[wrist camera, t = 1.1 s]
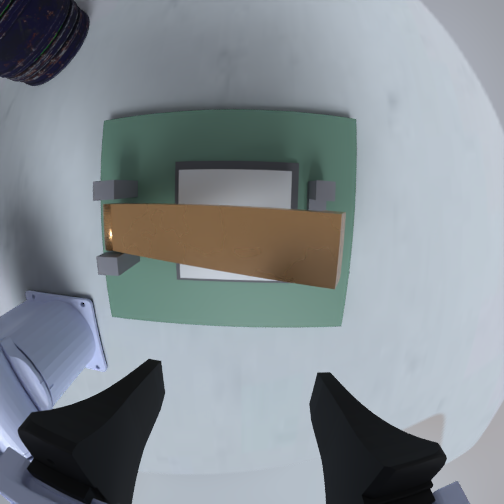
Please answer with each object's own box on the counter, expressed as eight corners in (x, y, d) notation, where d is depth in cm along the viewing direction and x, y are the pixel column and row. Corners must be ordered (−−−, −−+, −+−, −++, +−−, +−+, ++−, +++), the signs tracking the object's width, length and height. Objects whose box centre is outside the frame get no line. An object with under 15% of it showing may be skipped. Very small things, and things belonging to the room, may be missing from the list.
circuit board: (117, 311, 22) (91, 337, 17) (110, 123, 19) (77, 110, 14) (337, 319, 22) (355, 351, 17) (350, 122, 19) (377, 106, 14)
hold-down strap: (121, 244, 18) (101, 249, 17) (119, 202, 18) (99, 204, 16) (340, 278, 12) (334, 291, 11) (346, 212, 12) (341, 214, 10)
